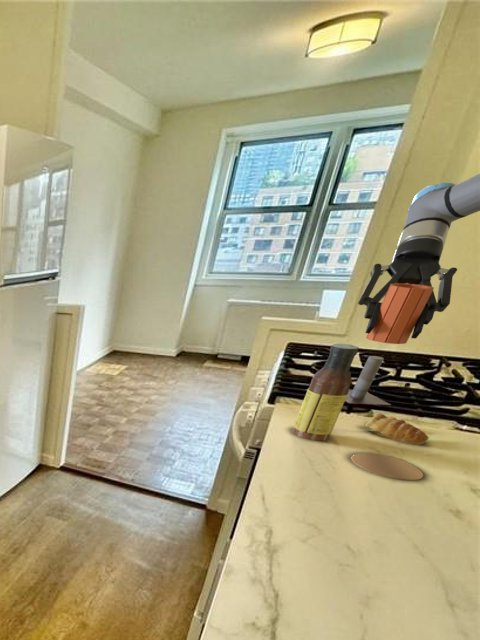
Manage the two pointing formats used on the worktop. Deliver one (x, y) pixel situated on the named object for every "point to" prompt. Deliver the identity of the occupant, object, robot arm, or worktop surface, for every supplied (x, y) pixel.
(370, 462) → the cork coaster
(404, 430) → the pastry
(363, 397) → the post stand
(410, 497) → the worktop surface
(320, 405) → the sauce bottle
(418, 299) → the orange grooved cup
